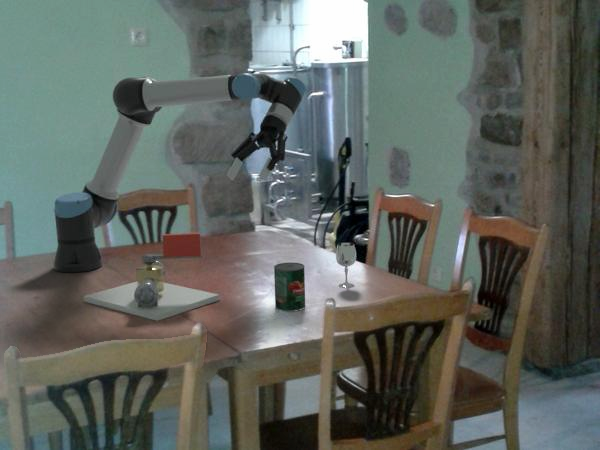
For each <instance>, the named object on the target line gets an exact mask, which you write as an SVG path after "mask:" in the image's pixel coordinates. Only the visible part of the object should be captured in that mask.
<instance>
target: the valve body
mask: <svg viewBox="0 0 600 450" xmlns="http://www.w3.org/2000/svg"><path fill="white" fill-rule="evenodd" d="M165 271H166V270H165V266H164V264H163V263H162V262H160V261H159V260H156V262H155V263H151V264H145V265H144V266H140V267H138V268H136V282H137V288H136V290H135V293H134V298H135V300H136V302H137V303H138V307H149V306H158V303H159V302H158V292H161V291H163V290H164V283H165V282H164V275H165Z"/></svg>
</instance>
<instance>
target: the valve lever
mask: <svg viewBox="0 0 600 450" xmlns="http://www.w3.org/2000/svg"><path fill="white" fill-rule="evenodd" d="M161 235H162V236H161V238H162V251H163V253H162V254H154V253H147V254H142V255H141V262H142V264H145V265H146V264H151V263H155V262H156V261H157V260H172V259H177V260H178V259H192V258H193V259H195V258H198V259H199V258H202V244H201V243H202V241H201V232H187V233H183V232H181V233H164V234H161Z"/></svg>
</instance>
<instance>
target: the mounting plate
mask: <svg viewBox="0 0 600 450" xmlns="http://www.w3.org/2000/svg"><path fill="white" fill-rule="evenodd" d="M136 288H137V281H134V282H131V283H128V284H127V283H126V284H123V285H119V286H115V287H112V288H108V289H105V290H102V291H98V292H94V293H90V294H87V295H84V296H83V301H84V302H85V303H89V304H93V305H96V306H100V307H104V308H108V309H112V310H114V311H119V312H121V313H122V312H123V313H127V314H130V315H135V316H138V317H141V318H144V319H148V320H149V319H150V320H152V321H153V320H154V321H157V322H158V321H160V320H161V321H162V320H164V319H166V318H170V317H172V316H175V315H178V314H182V313H185V312H188V311H191V310H193V309H196V308H201V307H202V306H206V305H208V304H212V303H215V302H218V301H220V294H217V293H213V292H209V291H204V290H200V289H196V288H190V287H186V286H185V287H184V286H182V285H176V284H174V283H173V284H172V283H167V282H164V290H163V291H161V292H158V302H159V303H158V306H149V307H138V303H137V302H136V300H135V298H134V293H135V290H136Z"/></svg>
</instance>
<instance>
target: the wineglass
mask: <svg viewBox="0 0 600 450" xmlns="http://www.w3.org/2000/svg"><path fill="white" fill-rule="evenodd" d="M335 260H336V263H337V264H338V265H339V266H341V267H344V275H345V281H344V282H343V283H339V284H338V288H344V287H345V288H344V289H346V288H347V289H350V288H354V287H355V284H353V283H352V282H351V283H349V281H348V272H349V268H348V267H351V266H353V265H354V264H355V263H356V261H357V250H356V247H355V244H354V243H353V242H340V243H338V244H337V246H336V251H335ZM349 287H350V288H349Z"/></svg>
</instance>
